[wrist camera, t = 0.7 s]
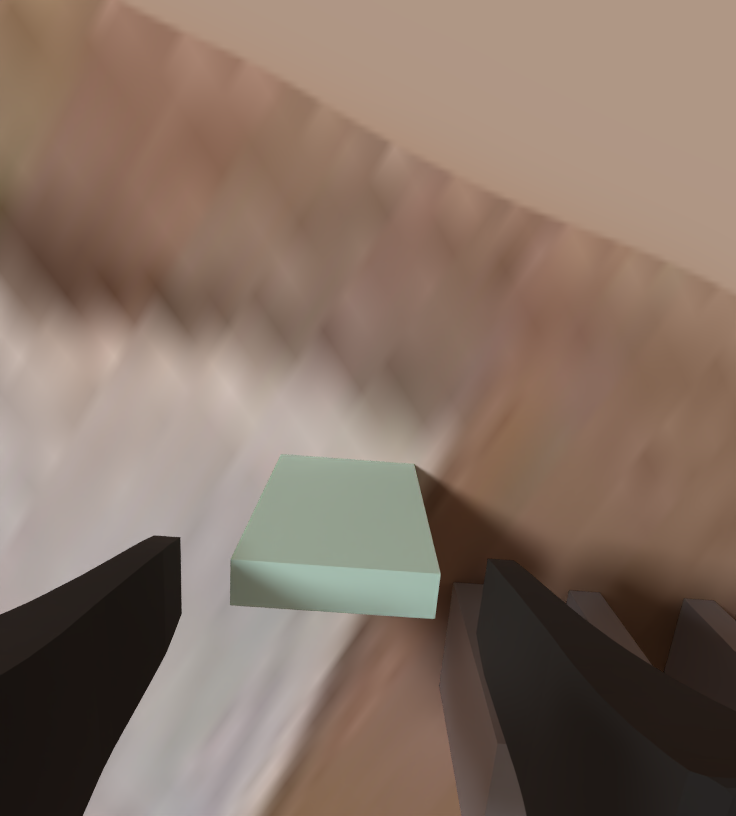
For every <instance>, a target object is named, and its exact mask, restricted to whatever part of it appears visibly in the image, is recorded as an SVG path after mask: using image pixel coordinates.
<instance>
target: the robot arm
mask: <svg viewBox="0 0 736 816" xmlns="http://www.w3.org/2000/svg"><path fill="white" fill-rule="evenodd" d="M181 614H182V609H181V551H180V537H167V536H152V537H150V538H148V539H146V540H144V541H142V542H140V543H138V544H136V545H134V546H133V547H131V548H129V549H127V550H126V551H124V552H122V553H120V554H119V555H117V556H115V557H113V558H112V559H110V560H108V561H106V562H104V563H103V564H101V565H99V566H97V567H96V568H94V569H92V570H90V571H88V572H87V573H85V574H83V575H81V576H79V577H77V578H75V579H73V580H72V581H70V582H68V583H66V584H64V585H62V586H60V587H58V588H56V589H54V590H52V591H50V592H48V593H46V594H44V595H42V596H40V597H38V598H36V599H34V600H32V601H30V602H28V603H26V604H23V605H21V606H19V607H17V608H15V609H12V610H10V611H8V612H5V613H3V614H1V615H0V816H83V814H84V812H85V809H86V807H87V805H88V802H89V800H90V798H91V796H92V793H93V791H94V789H95V786H96V784H97V782H98V780H99V777H100V775H101V773H102V771H103V769H104V767H105V765H106V763H107V761H108V759H109V757H110V755H111V753H112V751H113V749H114V747H115V745H116V743H117V742H118V740H119V738H120V736H121V734H122V733H123V731H124V729H125V727H126V725H127V724H128V722H129V720H130V718H131V716H132V715H133V713H134V711H135V709H136V707H137V706H138V704H139V702H140V700H141V698H142V697H143V695H144V693H145V691H146V689H147V688H148V686H149V684H150V682H151V680H152V679H153V677H154V675H155V673H156V671H157V669H158V668H159V666H160V664H161V662H162V660H163V658H164V656H165V654H166V652H167V650H168V647H169V645H170V642H171V640H172V637H173V635H174V632H175V630H176V627H177V624H178V622H179V619H180V616H181ZM476 635H477V640H478V646H479V652H480V657H481V662H482V667H483V672H484V676H485V680H486V683H487V686H488V689H489V692H490V696H491V699H492V702H493V705H494V708H495V711H496V714H497V717H498V720H499V724H500V727H501V730H502V733H503V736H504V739H505V742H506V745H507V748H508V751H509V754H510V757H511V760H512V763H513V766H514V770H515V773H516V776H517V780H518V783H519V787H520V790H521V794H522V798H523V802H524V807H525V811H526V815H527V816H736V711H735V710H733V709H730V708H728V707H726V706H724V705H722V704H720V703H718V702H716V701H714V700H712V699H710V698H708V697H707V696H705V695H703V694H701V693H699V692H697V691H696V690H694V689H692V688H690V687H688V686H686V685H685V684H683V683H681V682H679V681H677V680H675V679H674V678H672V677H670V676H669V675H667V674H665V673H663V672H662V671H660V670H658V669H657V668H655V667H653V666H652V665H650V664H649V663H647V662H646V661H644V660H642V659H641V658H639V657H638V656H636V655H635V654H633V653H631V652H630V651H628V650H627V649H625V648H624V647H622V646H621V645H620V644H618V643H617V642H615V641H614V640H612V639H611V638H610V637H608V636H607V635H606V634H604V633H603V632H601V631H600V630H599V629H597V628H596V627H595V626H593V625H592V624H591V623H589V622H588V621H587V620H586V619H584V618H583V617H582V616H580V615H579V614H578V613H577V612H575V611H574V610H573V609H572V608H570V607H569V606H568V605H567V604H566V603H564V602H563V601H562V600H561V599H559V598H558V597H557V596H556V595H555V594H554V593H552V592H551V591H550V590H549V589H548V588H546V587H545V586H544V585H543V584H542V583H541V582H539V581H538V580H537V579H536V578H535V577H534V576H532V575H531V574H530V573H529V572H528V571H527V570H525V569H524V568H523V567H522V566H520V565H519V564H518V563H516V562H515V561H513V560H499V559H488V561H487V567H486V573H485V580H484V586H483V593H482V599H481V606H480V612H479V618H478V625H477V631H476Z"/></svg>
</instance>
